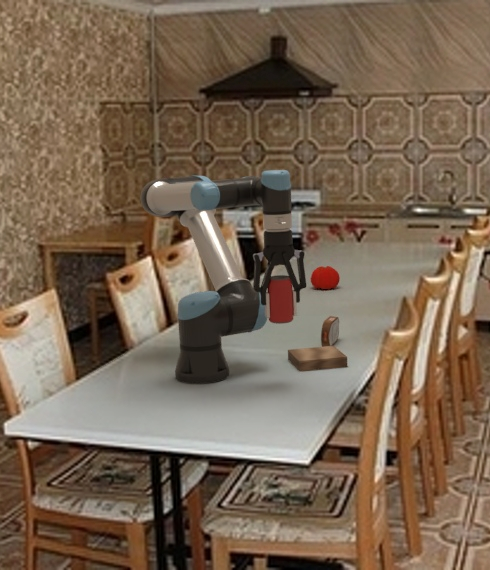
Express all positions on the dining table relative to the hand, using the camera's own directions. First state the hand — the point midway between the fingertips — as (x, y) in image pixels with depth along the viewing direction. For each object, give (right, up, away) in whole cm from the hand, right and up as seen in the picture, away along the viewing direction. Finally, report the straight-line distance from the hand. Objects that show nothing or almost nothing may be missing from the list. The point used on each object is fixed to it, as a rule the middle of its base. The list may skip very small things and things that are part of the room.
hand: (280, 315), depth 254 cm
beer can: (0, -2, 0) cm, 2 cm away
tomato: (+24, +6, +140) cm, 142 cm away
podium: (+11, -14, +23) cm, 29 cm away
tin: (+17, -11, +45) cm, 49 cm away
